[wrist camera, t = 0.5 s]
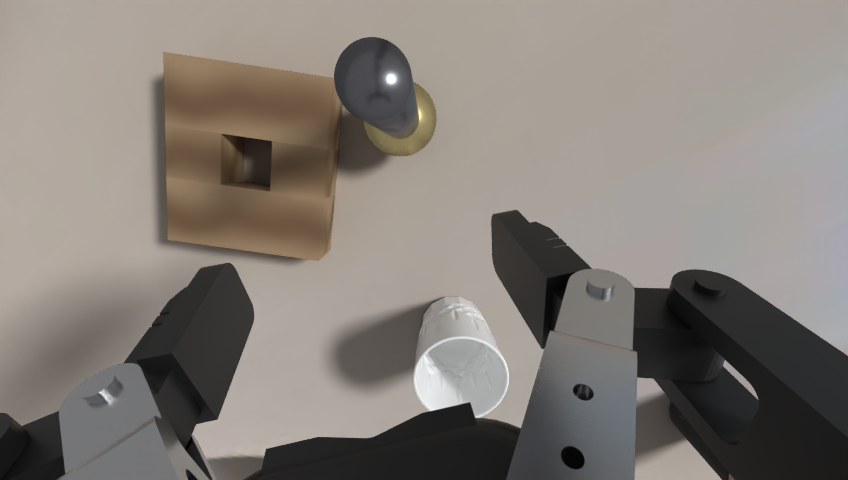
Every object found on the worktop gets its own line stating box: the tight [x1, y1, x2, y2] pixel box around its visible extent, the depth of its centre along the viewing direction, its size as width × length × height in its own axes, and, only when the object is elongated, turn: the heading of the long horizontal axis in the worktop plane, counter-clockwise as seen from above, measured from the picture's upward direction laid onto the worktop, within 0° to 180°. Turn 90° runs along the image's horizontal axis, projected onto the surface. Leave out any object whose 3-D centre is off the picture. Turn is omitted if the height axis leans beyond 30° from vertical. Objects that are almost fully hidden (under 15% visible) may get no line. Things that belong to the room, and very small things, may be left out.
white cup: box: [413, 297, 509, 418], centre depth 34 cm, size 8×8×10 cm
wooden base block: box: [163, 52, 343, 261], centre depth 33 cm, size 16×14×4 cm
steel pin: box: [334, 37, 436, 156], centre depth 24 cm, size 6×6×20 cm
